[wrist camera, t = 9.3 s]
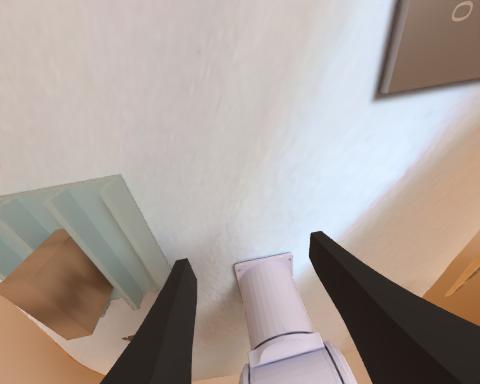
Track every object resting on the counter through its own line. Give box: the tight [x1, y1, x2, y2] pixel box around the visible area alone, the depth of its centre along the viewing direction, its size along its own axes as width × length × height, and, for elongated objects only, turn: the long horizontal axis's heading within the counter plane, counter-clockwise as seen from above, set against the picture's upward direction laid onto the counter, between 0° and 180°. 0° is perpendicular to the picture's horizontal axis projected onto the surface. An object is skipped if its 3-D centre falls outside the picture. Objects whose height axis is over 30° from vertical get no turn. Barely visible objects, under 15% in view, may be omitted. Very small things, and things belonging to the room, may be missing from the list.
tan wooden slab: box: [0, 228, 114, 340], centre depth 17 cm, size 8×2×6 cm, turn 8°
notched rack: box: [0, 174, 171, 317], centre depth 20 cm, size 16×13×3 cm
